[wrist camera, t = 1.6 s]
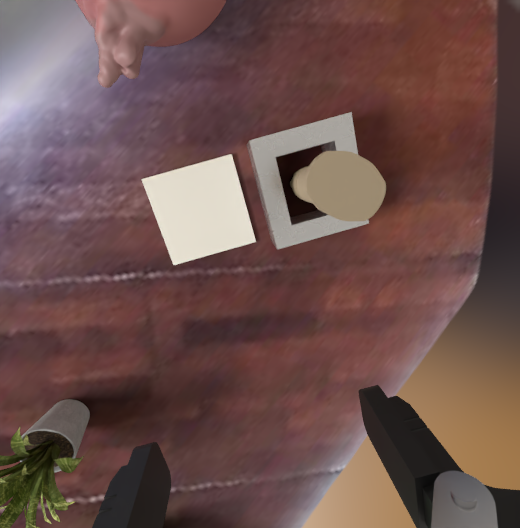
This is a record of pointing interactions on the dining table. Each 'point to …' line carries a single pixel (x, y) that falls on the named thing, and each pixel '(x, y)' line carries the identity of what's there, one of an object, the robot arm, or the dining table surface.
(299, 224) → the collar
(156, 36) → the balloon
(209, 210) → the mat
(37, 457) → the house plant
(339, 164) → the handle
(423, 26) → the dining table surface
